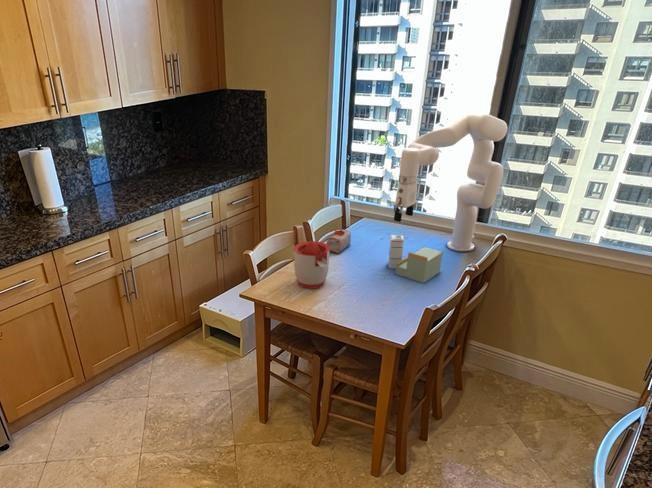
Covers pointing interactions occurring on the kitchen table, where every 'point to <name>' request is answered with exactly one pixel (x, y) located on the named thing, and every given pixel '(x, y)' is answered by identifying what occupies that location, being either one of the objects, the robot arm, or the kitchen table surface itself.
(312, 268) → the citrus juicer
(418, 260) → the stepped box
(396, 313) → the kitchen table surface
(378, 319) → the kitchen table surface
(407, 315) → the kitchen table surface
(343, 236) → the food item
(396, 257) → the syrup box
